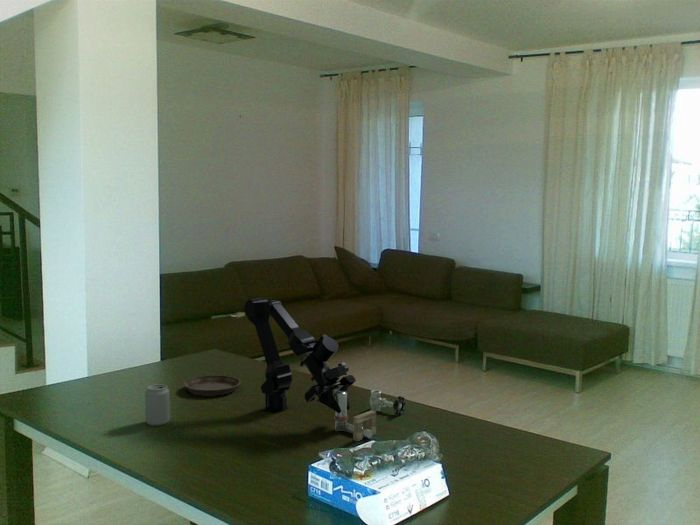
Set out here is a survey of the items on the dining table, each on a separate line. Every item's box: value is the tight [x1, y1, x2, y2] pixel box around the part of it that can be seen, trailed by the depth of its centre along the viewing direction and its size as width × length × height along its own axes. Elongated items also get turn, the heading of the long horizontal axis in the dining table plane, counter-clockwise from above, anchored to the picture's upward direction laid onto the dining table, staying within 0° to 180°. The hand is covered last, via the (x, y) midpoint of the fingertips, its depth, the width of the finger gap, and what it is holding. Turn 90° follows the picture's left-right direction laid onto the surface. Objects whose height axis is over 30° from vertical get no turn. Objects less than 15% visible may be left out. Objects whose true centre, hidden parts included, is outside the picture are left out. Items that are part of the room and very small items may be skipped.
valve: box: [369, 389, 407, 417], centre depth 228 cm, size 7×7×12 cm
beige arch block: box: [352, 409, 377, 442], centre depth 204 cm, size 2×8×7 cm, turn 139°
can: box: [144, 383, 171, 427], centre depth 216 cm, size 8×8×12 cm
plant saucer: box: [183, 374, 241, 397], centre depth 252 cm, size 21×21×3 cm
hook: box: [333, 391, 374, 439], centre depth 207 cm, size 14×4×12 cm, turn 49°
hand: (344, 410), depth 209 cm, fingers closed on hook, 4 cm apart
